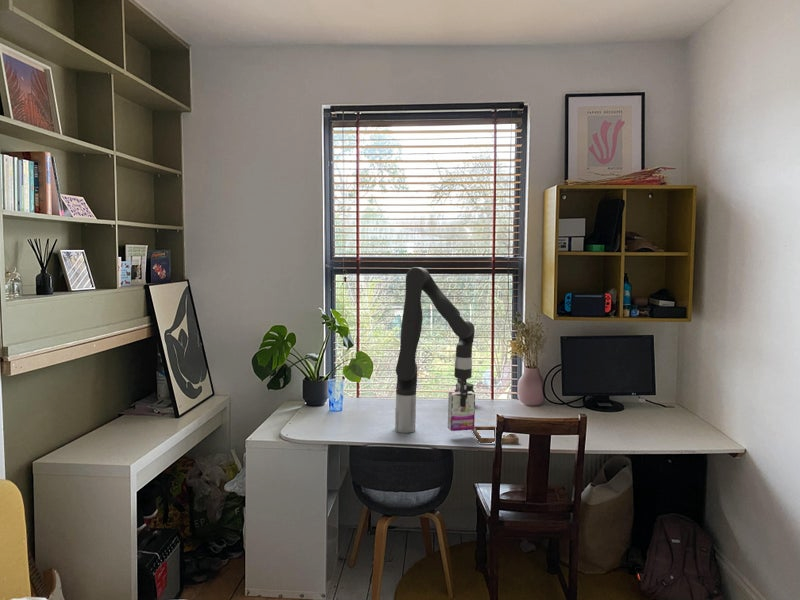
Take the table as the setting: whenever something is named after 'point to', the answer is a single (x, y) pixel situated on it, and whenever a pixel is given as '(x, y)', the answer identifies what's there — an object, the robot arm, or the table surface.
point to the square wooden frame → (505, 440)
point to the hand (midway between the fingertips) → (461, 404)
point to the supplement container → (470, 387)
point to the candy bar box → (461, 412)
